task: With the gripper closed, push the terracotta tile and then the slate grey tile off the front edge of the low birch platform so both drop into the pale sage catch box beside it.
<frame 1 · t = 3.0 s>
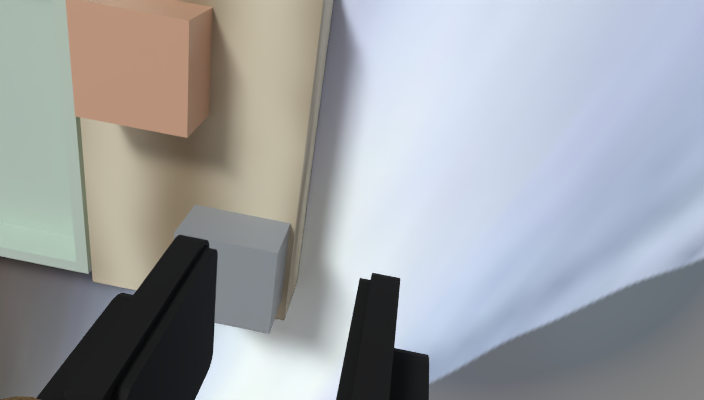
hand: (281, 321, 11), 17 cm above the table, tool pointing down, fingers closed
slate tile: (239, 253, 28), point 3 cm above the table, touching birch platform
birch platform: (213, 134, 29), on the table
terracotta tile: (156, 53, 24), point 3 cm above the table, touching birch platform
catch box: (10, 95, 29), on the table
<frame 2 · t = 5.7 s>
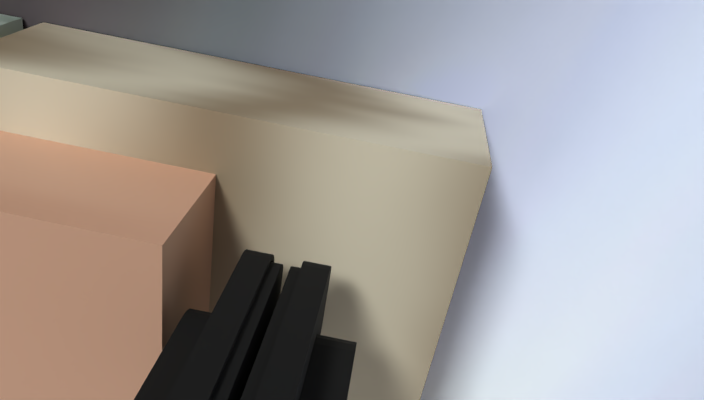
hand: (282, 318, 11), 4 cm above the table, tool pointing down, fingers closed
birch platform: (236, 334, 17), on the table
terracotta tile: (106, 248, 12), point 3 cm above the table, touching birch platform, gripper
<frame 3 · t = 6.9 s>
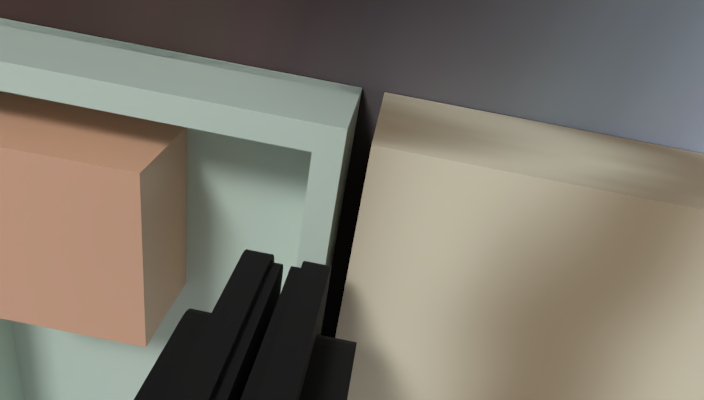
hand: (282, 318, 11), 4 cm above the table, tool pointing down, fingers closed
birch platform: (506, 393, 17), on the table
terracotta tile: (40, 247, 13), point 3 cm above the table, tilted 180°, touching catch box
catch box: (156, 319, 17), on the table
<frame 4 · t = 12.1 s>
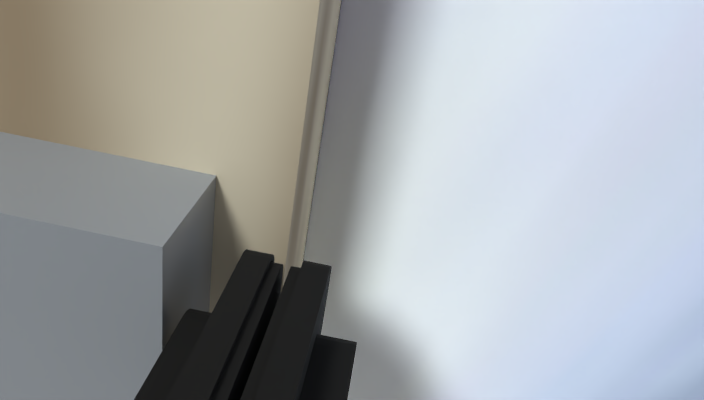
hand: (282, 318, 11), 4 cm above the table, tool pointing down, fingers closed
slate tile: (106, 249, 12), point 3 cm above the table, touching birch platform, gripper
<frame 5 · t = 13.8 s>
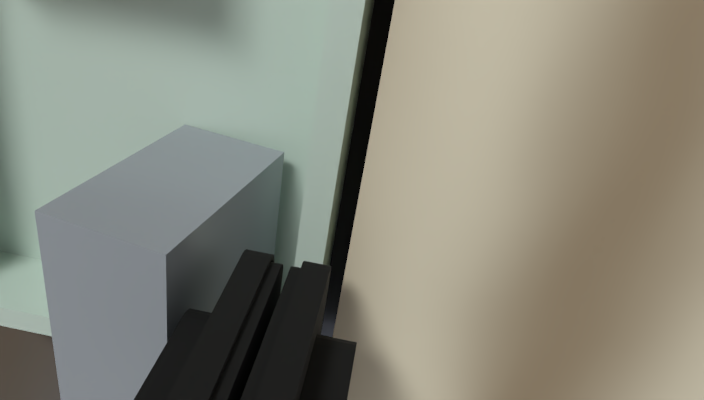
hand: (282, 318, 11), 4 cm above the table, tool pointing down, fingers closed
slate tile: (230, 288, 12), point 3 cm above the table, tilted 101°, touching catch box
birch platform: (624, 86, 12), on the table
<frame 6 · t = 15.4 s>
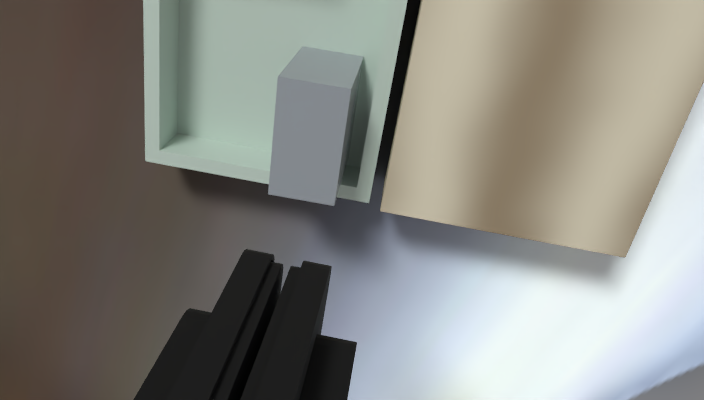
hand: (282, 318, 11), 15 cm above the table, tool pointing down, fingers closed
slate tile: (349, 128, 23), point 3 cm above the table, tilted 90°, touching catch box
birch platform: (549, 19, 23), on the table
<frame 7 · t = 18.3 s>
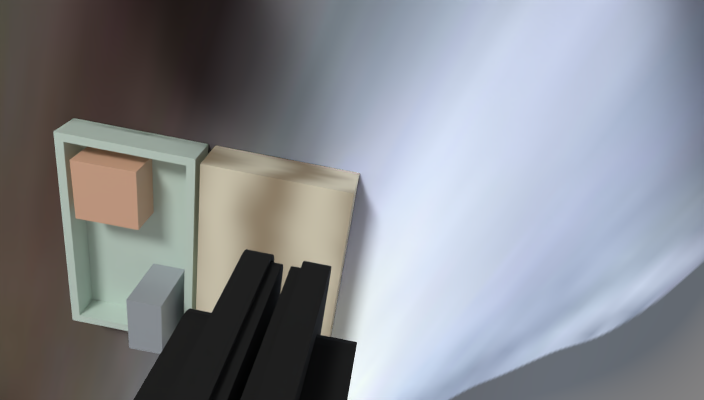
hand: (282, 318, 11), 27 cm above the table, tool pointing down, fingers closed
slate tile: (173, 311, 44), point 3 cm above the table, tilted 90°, touching catch box
birch platform: (276, 255, 44), on the table
terracotta tile: (104, 195, 40), point 3 cm above the table, tilted 180°, touching catch box
catch box: (143, 229, 44), on the table
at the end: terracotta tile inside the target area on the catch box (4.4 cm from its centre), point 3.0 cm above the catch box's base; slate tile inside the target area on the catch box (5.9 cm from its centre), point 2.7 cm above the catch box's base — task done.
